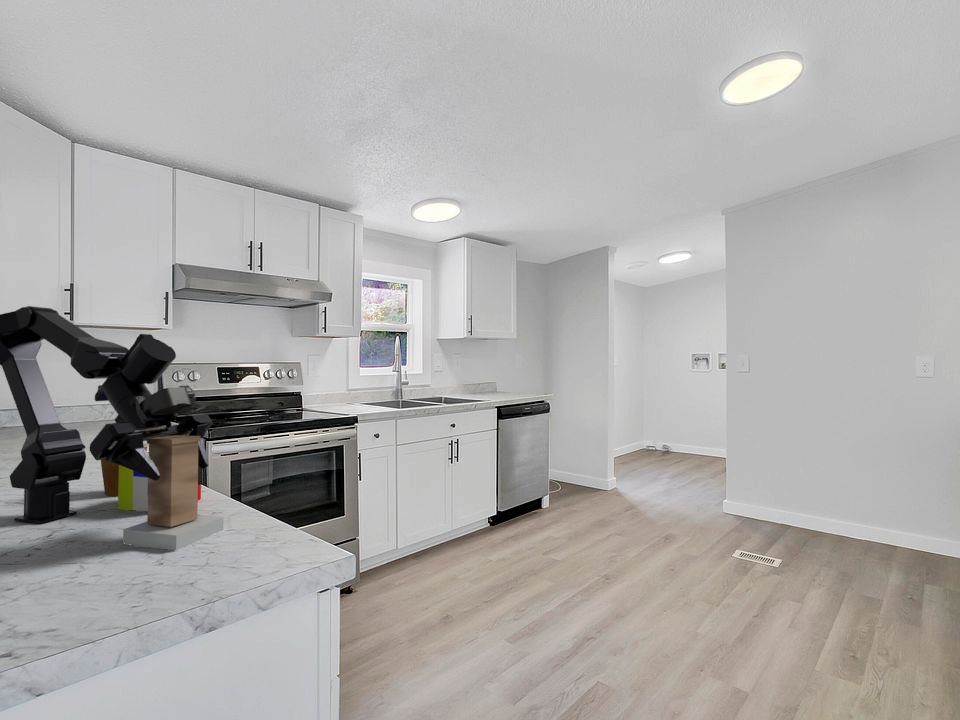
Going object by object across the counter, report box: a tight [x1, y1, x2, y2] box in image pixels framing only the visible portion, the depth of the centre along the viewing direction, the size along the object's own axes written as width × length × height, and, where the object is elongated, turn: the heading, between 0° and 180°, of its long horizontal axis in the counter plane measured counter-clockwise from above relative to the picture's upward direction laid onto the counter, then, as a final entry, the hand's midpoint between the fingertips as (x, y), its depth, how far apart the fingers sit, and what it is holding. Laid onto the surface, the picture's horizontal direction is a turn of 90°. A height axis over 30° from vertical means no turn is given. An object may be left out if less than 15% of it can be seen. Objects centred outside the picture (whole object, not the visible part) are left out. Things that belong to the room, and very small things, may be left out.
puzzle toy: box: [117, 451, 203, 512], centre depth 103 cm, size 10×10×10 cm
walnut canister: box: [146, 435, 200, 527], centre depth 84 cm, size 5×5×14 cm
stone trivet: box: [122, 513, 225, 551], centre depth 84 cm, size 10×10×3 cm
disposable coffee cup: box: [100, 441, 149, 497], centre depth 111 cm, size 10×10×12 cm
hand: (183, 472), depth 84 cm, fingers open, 9 cm apart
